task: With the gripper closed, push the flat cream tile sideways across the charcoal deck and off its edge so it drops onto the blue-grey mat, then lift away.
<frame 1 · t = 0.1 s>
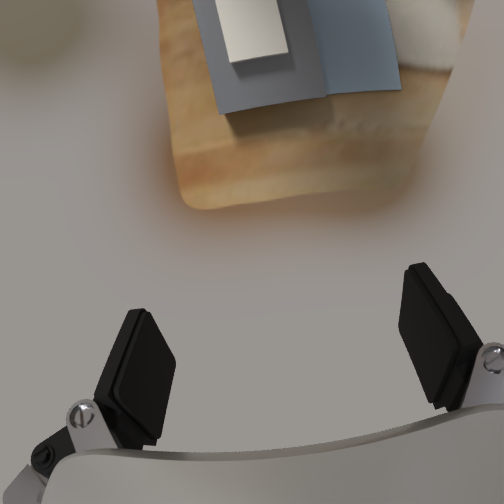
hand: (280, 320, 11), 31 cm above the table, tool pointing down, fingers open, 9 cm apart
mat: (347, 17, 29), on the table
deck: (255, 26, 30), on the table
tile: (250, 21, 26), point 4 cm above the table, touching deck
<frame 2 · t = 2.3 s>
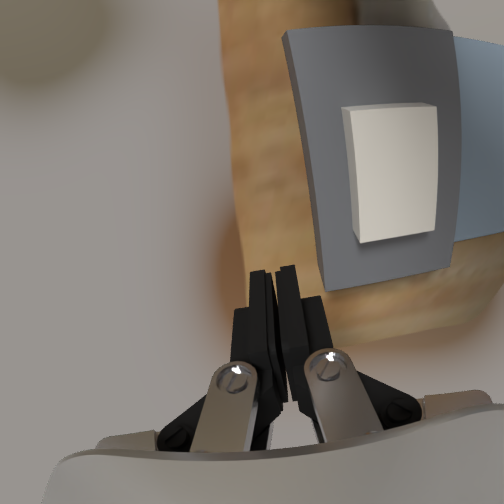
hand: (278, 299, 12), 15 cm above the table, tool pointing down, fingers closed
mat: (481, 144, 22), on the table
deck: (375, 151, 23), on the table
tile: (388, 166, 20), point 4 cm above the table, touching deck
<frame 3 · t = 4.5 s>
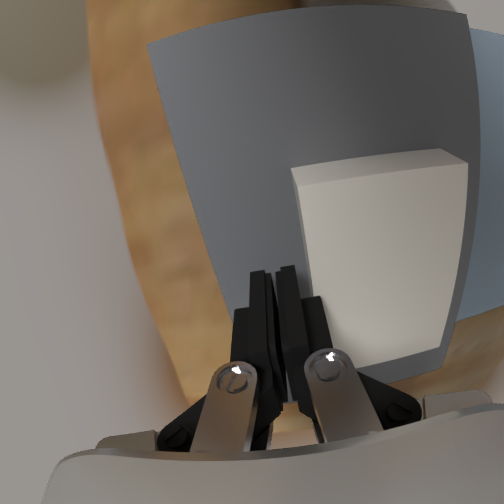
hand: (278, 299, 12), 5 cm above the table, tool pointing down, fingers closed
mat: (501, 192, 15), on the table
deck: (338, 219, 16), on the table
tile: (376, 259, 13), point 4 cm above the table, touching deck, gripper
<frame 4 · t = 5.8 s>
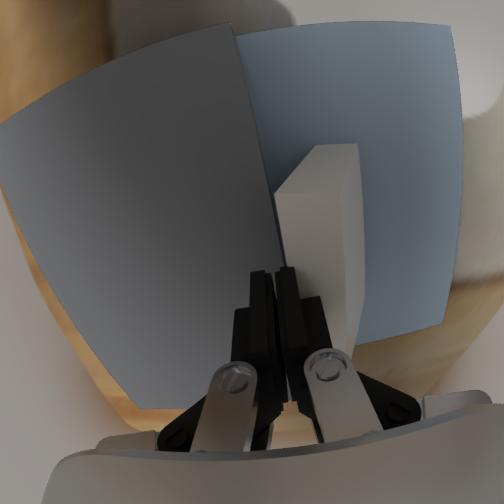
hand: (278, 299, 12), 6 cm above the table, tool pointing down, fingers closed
mat: (377, 210, 16), on the table
deck: (172, 248, 17), on the table
tile: (313, 260, 14), point 3 cm above the table, tilted 67°, touching gripper, mat
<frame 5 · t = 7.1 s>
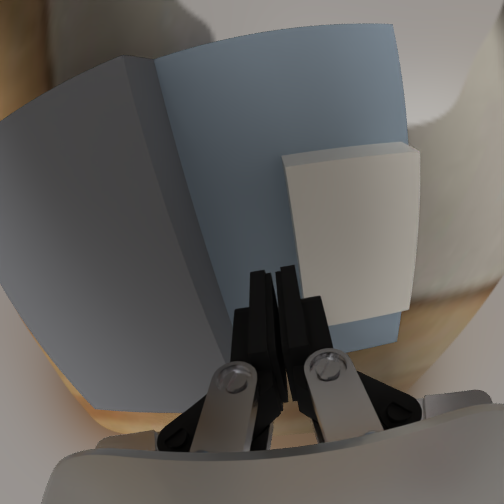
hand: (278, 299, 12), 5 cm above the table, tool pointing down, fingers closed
mat: (310, 227, 16), on the table
deck: (113, 263, 18), on the table
tile: (361, 251, 14), point 2 cm above the table, tilted 180°, touching mat
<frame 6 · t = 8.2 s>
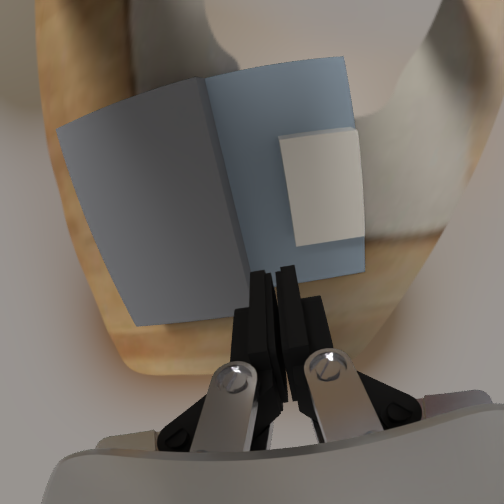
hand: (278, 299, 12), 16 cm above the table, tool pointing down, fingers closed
mat: (296, 181, 26), on the table
deck: (167, 206, 27), on the table
tile: (326, 190, 24), point 2 cm above the table, tilted 180°, touching mat
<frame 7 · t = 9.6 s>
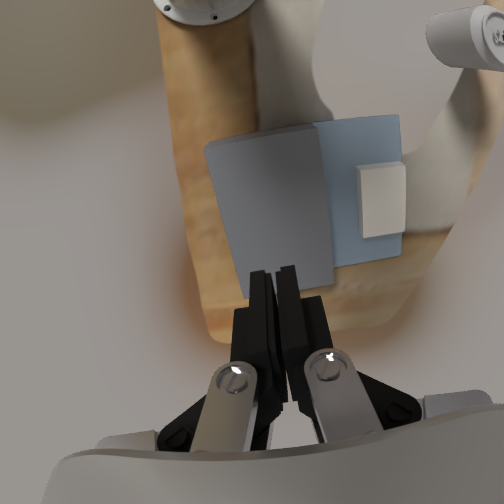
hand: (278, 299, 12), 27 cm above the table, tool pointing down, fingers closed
can: (445, 40, 26), on the table
mat: (363, 195, 38), on the table
deck: (275, 209, 39), on the table
tile: (384, 202, 36), point 2 cm above the table, tilted 180°, touching mat
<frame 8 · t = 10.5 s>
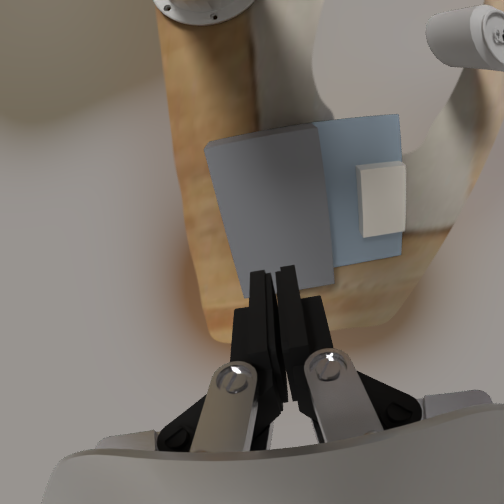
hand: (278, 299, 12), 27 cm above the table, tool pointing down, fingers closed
can: (445, 40, 26), on the table
mat: (363, 194, 38), on the table
deck: (275, 208, 39), on the table
tile: (384, 202, 36), point 2 cm above the table, tilted 180°, touching mat
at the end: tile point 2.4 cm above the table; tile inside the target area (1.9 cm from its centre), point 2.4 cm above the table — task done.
